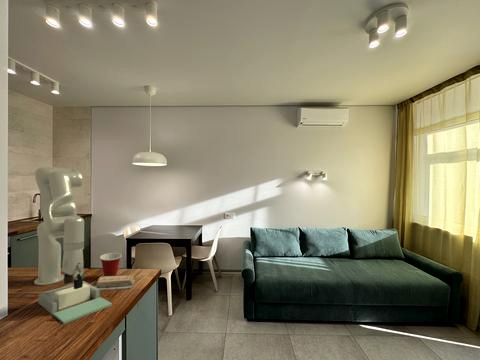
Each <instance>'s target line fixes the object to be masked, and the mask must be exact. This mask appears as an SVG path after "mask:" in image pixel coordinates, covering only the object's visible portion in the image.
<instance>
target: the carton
mask: <svg viewBox="0 0 480 360" xmlns="http://www.w3.org/2000/svg"><path fill="white" fill-rule="evenodd" d="M90 299H91V296H90V286H89V285H87V284H83V287H82V288H78V289H74V287H71V288H68V289H64V290H61V291H57V292H54V301H55V302H56V303H57V311H59V310H60V311H61V310H63V309H64V308H65V309H66V308H69V307H72V306H73V305H74V306H75V305H78V304H81V303H84V302H87V301H90Z"/></svg>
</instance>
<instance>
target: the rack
mask: <svg viewBox="0 0 480 360" xmlns="http://www.w3.org/2000/svg"><path fill="white" fill-rule="evenodd" d="M83 284H87V285H89V286H90V298H92V299H96V298H99V297H100V291H101V290H100V289H98V288H96V287H94V286H95V285H92V284H90V283H89V282H87V281H84V280H83ZM71 287H74V283H72V284H67V285H64V286H62V287H57V288H55V289H51V290H48V291H44V292H41V293H38V301H37V302H38V304H39V305H40V306H41V307H43V309H45V310H46V311H47V312H49V313H50V314H51V315H53V313H56V312H58V309H57V303H56V302H55V301H54V292H57V291H61V290H64V289H68V288H71Z"/></svg>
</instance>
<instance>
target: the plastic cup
mask: <svg viewBox="0 0 480 360" xmlns="http://www.w3.org/2000/svg"><path fill="white" fill-rule="evenodd" d="M122 255H123V254H121V253H118V252H110V253H109V252H108V253H103V254H102V255H100V256H99V259H100V262H101V264H102V265H101V266H102V267H101V268H102V271H103V277H104V276H118V275H117V273H118V271H119V265H120V260H121V258H122Z"/></svg>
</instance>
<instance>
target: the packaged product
mask: <svg viewBox="0 0 480 360" xmlns="http://www.w3.org/2000/svg"><path fill="white" fill-rule="evenodd" d="M134 277H135V276H134V275H131V274H128V275H116V276H104V275H103V276H99V278H98V280H97V281H96V284H95V285H93V286H94V287H96V288H98V289H100V291H115V289H116V290H117V289H118V290H130V289H131V288H132V287H133V285H134V284H135V279H134Z"/></svg>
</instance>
